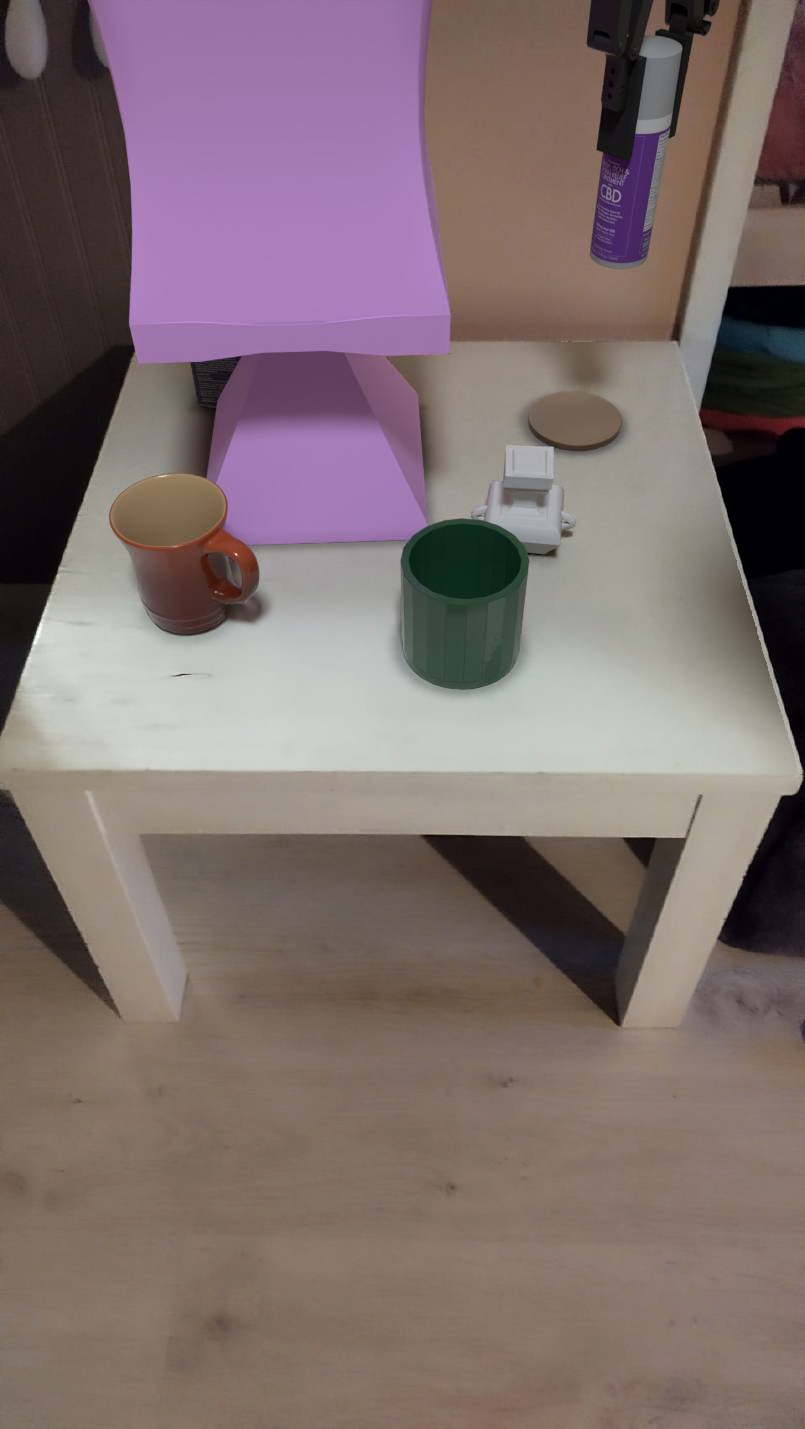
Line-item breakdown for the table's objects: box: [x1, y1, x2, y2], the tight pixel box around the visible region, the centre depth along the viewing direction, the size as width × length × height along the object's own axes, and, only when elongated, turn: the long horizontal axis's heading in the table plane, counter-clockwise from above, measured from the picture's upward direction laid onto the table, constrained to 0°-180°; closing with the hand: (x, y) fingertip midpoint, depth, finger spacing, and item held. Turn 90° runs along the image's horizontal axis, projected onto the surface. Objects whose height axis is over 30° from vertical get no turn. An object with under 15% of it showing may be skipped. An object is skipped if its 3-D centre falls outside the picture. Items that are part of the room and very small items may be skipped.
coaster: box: [527, 391, 623, 452], centre depth 98 cm, size 9×9×1 cm
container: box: [589, 34, 682, 270], centre depth 77 cm, size 5×5×15 cm
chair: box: [87, 0, 451, 546], centre depth 77 cm, size 22×22×45 cm
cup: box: [399, 517, 530, 690], centre depth 76 cm, size 9×9×9 cm
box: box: [189, 356, 242, 409], centre depth 99 cm, size 8×6×11 cm
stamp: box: [470, 444, 578, 555], centre depth 85 cm, size 9×7×8 cm
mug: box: [108, 472, 260, 634], centre depth 78 cm, size 12×9×10 cm
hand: (636, 142), depth 76 cm, fingers closed on container, 5 cm apart
